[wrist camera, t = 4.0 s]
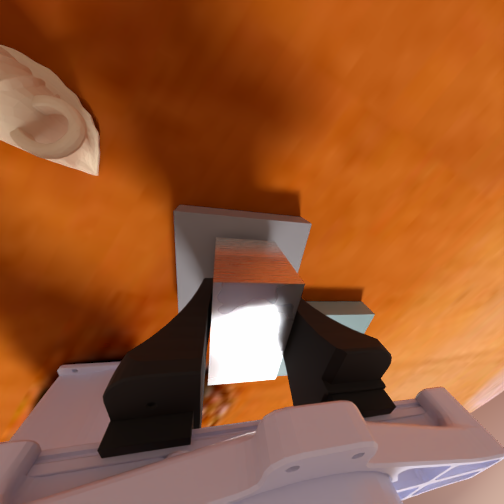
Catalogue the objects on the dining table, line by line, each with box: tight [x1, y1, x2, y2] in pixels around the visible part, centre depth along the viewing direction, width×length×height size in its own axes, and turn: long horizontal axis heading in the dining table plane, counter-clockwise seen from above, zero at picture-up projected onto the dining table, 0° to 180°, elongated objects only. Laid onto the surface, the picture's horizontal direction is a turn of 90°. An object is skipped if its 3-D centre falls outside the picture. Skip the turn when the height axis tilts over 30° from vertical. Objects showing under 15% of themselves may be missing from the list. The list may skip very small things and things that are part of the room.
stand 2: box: [277, 301, 375, 376], centre depth 21 cm, size 10×10×2 cm
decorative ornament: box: [0, 45, 100, 176], centre depth 8 cm, size 4×8×5 cm, turn 56°
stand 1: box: [173, 205, 311, 312], centre depth 15 cm, size 10×10×2 cm
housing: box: [208, 237, 305, 385], centre depth 11 cm, size 4×7×5 cm, turn 172°
